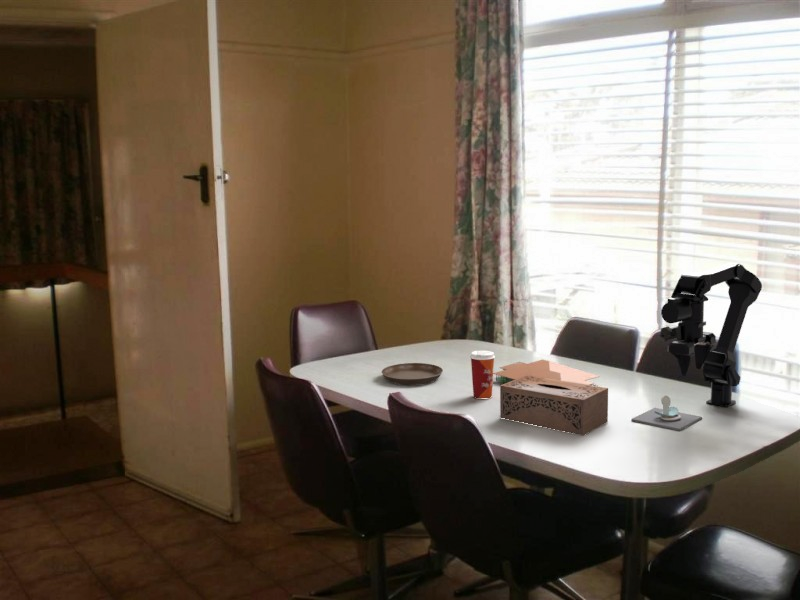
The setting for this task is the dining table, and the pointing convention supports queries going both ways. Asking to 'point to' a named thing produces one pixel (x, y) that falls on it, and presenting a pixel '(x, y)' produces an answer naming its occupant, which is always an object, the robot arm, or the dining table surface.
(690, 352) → the robot arm
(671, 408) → the pacifier
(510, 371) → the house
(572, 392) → the tissue box cover
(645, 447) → the dining table surface
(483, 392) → the paper cup
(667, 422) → the mat
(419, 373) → the plant saucer
